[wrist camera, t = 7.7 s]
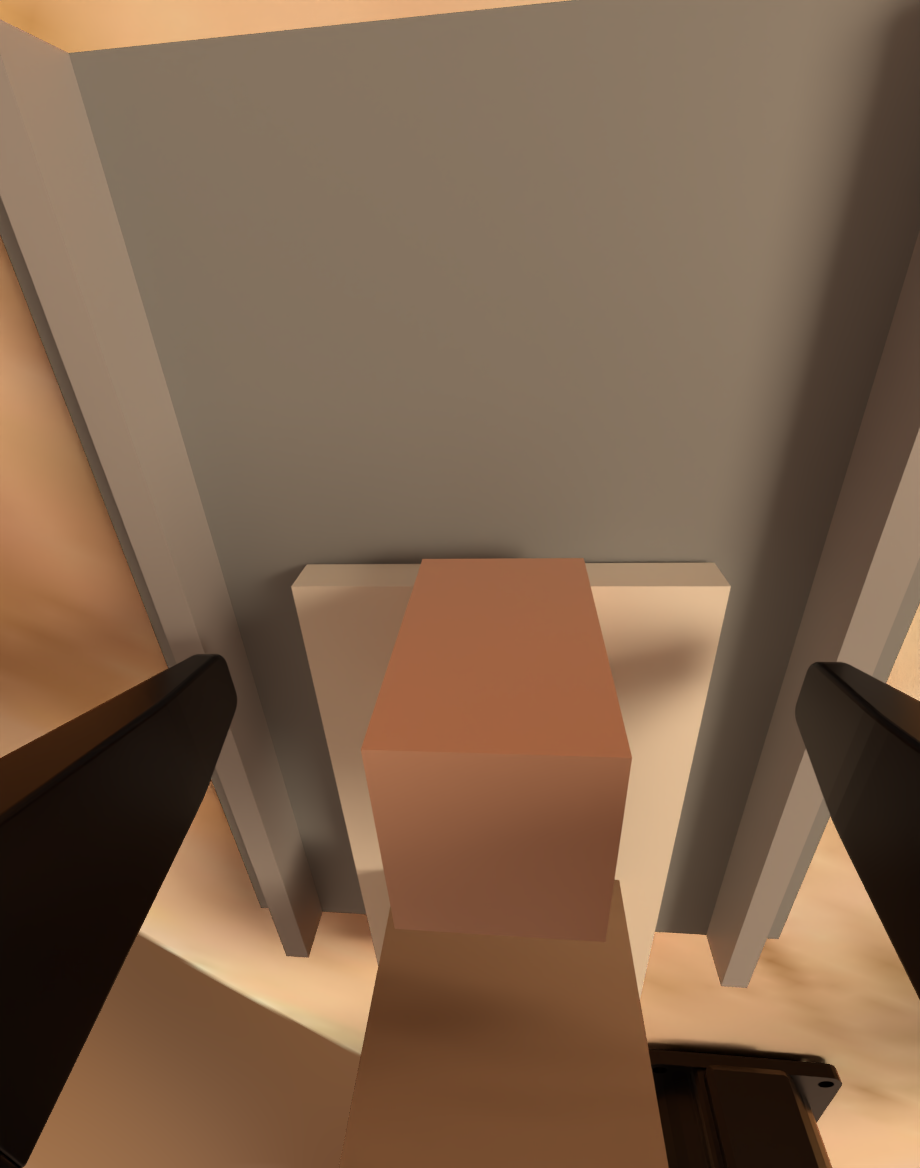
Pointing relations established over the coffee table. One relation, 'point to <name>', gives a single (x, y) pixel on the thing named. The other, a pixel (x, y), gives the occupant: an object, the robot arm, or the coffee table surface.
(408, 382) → the lane board
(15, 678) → the coffee table surface
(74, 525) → the coffee table surface
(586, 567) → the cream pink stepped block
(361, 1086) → the walnut block
